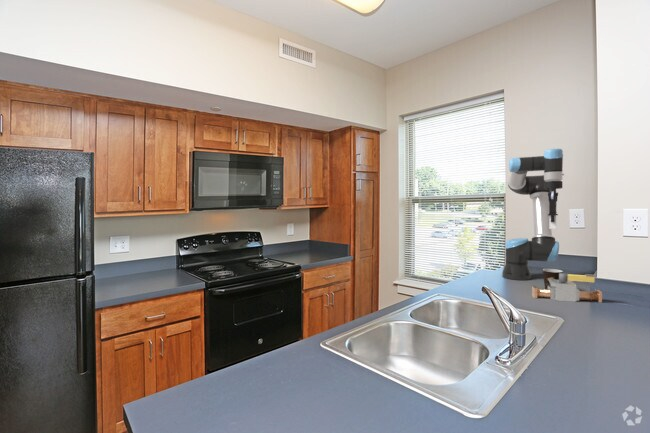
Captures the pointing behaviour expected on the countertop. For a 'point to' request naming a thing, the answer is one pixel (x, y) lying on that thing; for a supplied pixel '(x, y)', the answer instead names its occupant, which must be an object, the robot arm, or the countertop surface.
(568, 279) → the lever
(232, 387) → the countertop surface
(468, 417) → the countertop surface
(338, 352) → the countertop surface
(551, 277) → the coffee mug
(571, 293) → the valve body
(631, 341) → the countertop surface
